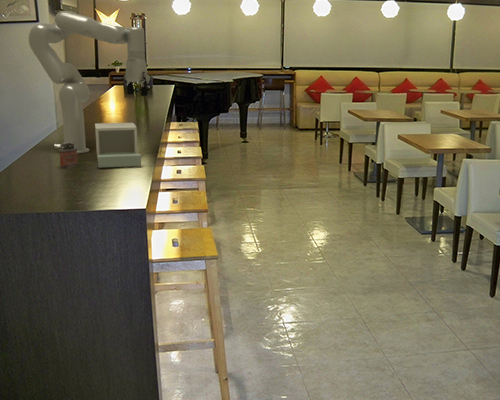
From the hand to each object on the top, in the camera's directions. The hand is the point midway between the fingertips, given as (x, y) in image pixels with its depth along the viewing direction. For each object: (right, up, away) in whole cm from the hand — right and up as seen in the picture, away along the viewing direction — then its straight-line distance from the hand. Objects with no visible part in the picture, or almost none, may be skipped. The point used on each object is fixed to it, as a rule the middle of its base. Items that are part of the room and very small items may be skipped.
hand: (137, 94), depth 270 cm
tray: (-4, -31, -18) cm, 37 cm away
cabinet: (-8, -29, -4) cm, 30 cm away
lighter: (-23, -34, -25) cm, 48 cm away
